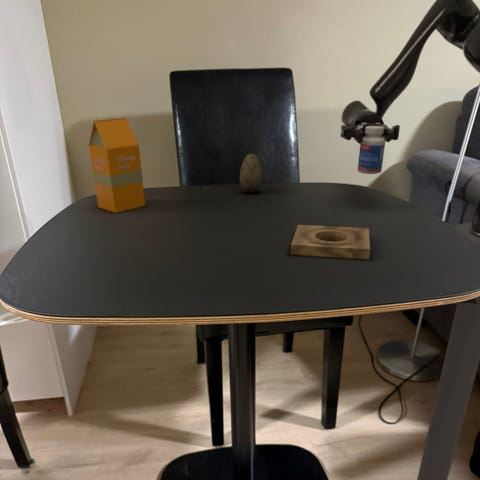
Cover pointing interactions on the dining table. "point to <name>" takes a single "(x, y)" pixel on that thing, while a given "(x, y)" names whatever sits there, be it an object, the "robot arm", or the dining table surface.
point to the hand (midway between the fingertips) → (374, 136)
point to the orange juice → (116, 165)
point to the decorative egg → (250, 174)
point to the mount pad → (316, 244)
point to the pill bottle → (371, 150)
